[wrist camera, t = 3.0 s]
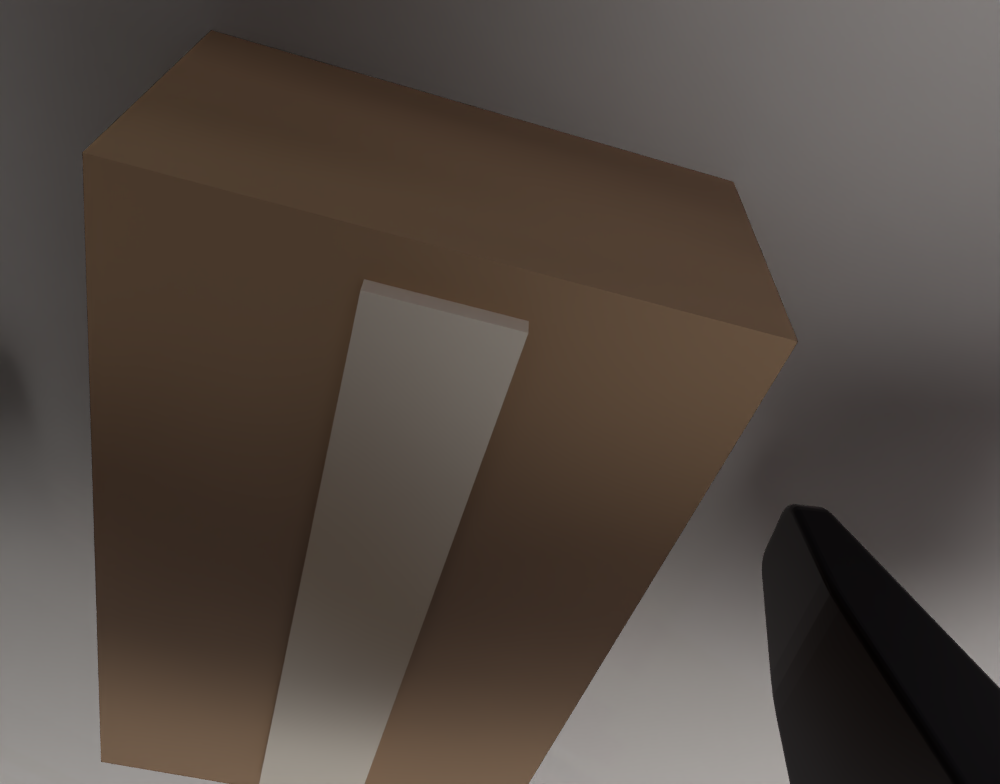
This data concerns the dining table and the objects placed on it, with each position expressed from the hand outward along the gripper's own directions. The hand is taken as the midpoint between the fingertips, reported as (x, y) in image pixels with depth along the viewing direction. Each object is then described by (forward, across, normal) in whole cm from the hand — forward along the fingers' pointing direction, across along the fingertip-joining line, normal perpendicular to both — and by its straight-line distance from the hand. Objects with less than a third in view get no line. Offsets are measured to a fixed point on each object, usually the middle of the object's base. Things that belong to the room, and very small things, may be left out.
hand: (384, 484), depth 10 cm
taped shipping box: (+1, 0, 0) cm, 1 cm away
